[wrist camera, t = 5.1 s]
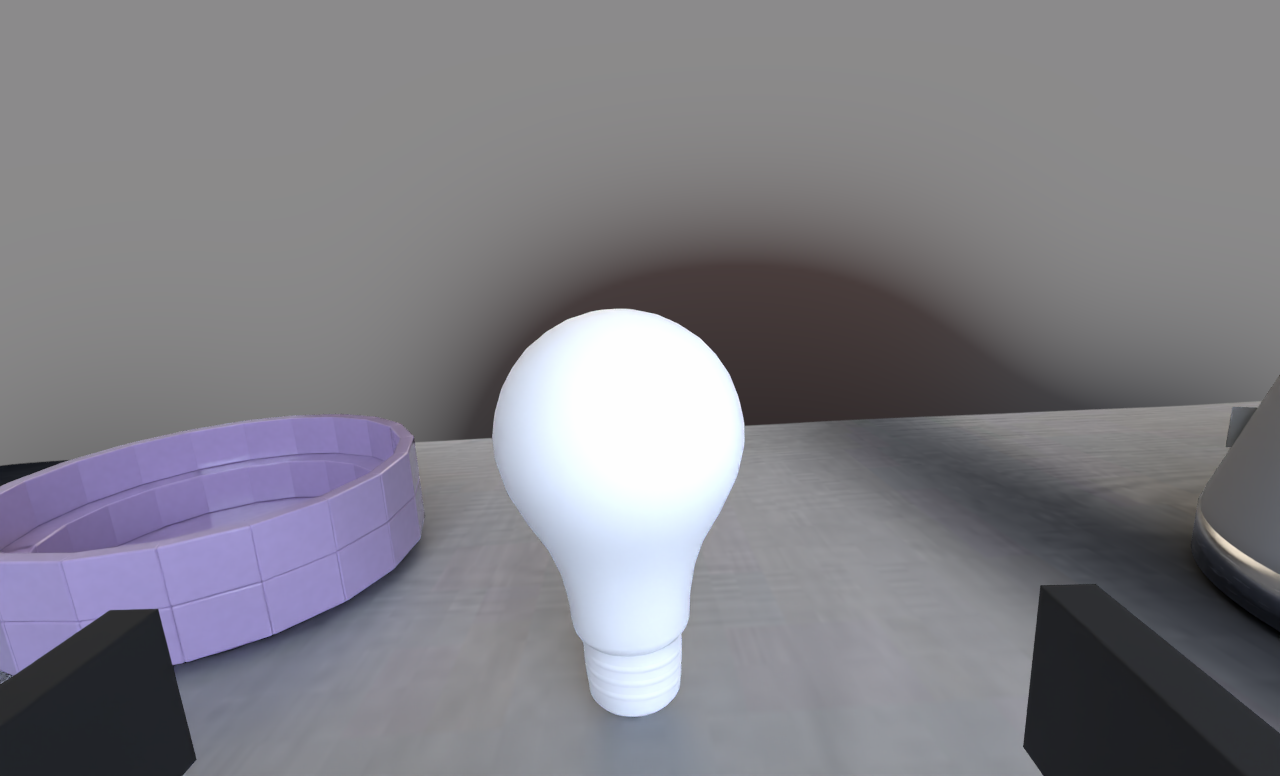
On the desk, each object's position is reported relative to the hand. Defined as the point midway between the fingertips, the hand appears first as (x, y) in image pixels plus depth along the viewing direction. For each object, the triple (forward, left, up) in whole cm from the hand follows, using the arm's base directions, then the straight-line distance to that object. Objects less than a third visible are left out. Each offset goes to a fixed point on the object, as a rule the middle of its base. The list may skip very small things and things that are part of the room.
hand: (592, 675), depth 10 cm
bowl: (+21, -8, -6) cm, 24 cm away
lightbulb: (+2, -6, -6) cm, 9 cm away
